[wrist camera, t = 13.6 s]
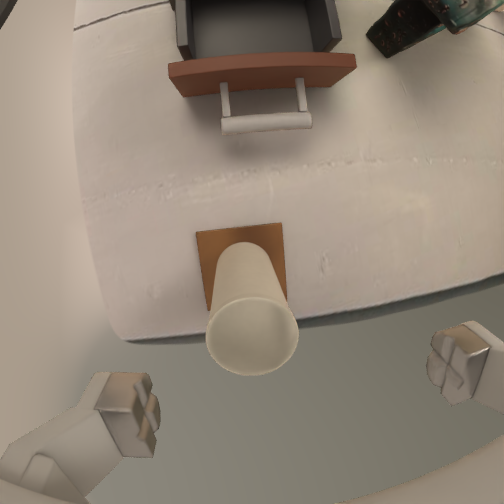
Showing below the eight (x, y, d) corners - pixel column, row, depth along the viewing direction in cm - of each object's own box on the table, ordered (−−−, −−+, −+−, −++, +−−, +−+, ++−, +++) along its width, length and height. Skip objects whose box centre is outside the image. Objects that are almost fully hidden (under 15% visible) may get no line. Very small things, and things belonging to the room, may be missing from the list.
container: (219, 297, 31) (213, 379, 18) (212, 244, 29) (198, 302, 17) (274, 291, 31) (300, 369, 19) (269, 237, 30) (296, 291, 17)
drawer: (335, 131, 27) (364, 123, 20) (187, 143, 26) (173, 136, 20) (310, -25, 22) (326, -60, 15) (176, -18, 22) (165, -55, 15)
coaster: (208, 309, 32) (207, 310, 31) (196, 231, 29) (195, 232, 29) (286, 300, 32) (287, 301, 32) (281, 222, 30) (281, 223, 29)
